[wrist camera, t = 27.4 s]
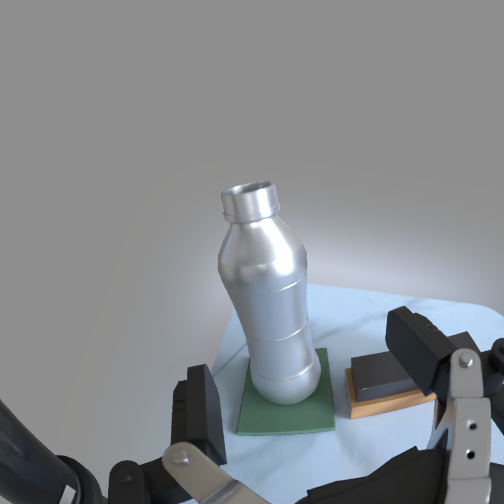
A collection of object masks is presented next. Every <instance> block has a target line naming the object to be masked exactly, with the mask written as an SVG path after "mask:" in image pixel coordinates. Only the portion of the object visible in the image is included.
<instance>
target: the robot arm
mask: <svg viewBox="0 0 504 504" xmlns="http://www.w3.org/2000/svg"><path fill="white" fill-rule="evenodd" d="M385 340H386V344H387V347H388V349H389V350H390V352H391V353H392V354H393V355H394V357H395V358H396V359H397V360H398V362H399V363H400V364H401V366H402V367H403V368H404V369H405V371H406V372H407V373H408V375H409V376H410V377H411V378H412V380H413V381H414V382H415V384H416V385H417V386H418V388H419V389H420V390H421V392H422V393H423V394H424V396H425V397H427V396H429V395H430V394H432V393H435V394H436V398H435V406H434V416H433V425H432V432H431V437H430V440H429V442H428V445H427V449H425V450H420V451H419V450H418V449H417V447H416V446H414V447H412V448H411V449H409V450H407V451H405V452H403V453H401V454H399V455H397V456H395V457H393V458H391V459H390V460H389V461H387V462H386V463H385V464H384V465H382V466H381V467H380V468H378V469H377V470H376V471H374V472H373V473H371V474H370V475H368V476H365V477H360V478H354V479H348V480H341V481H335V482H332V483H329V484H326V485H323V486H320V487H316V488H313V489H310V490H307V494H308V496H306V497H304V498H302V499H300V500H299V501H297V502H296V503H295V504H504V465H501V464H497V463H492V462H490V451H491V418H492V419H493V421H494V422H495V424H496V425H497V427H498V428H499V429H500V431H501V432H502V434H503V435H504V384H503V382H504V338H500V339H497V340H496V341H495V342H494V343H493V346H492V348H491V350H488V351H485V352H481V353H476V352H475V351H473V350H471V349H467V348H462V349H459V348H458V347H457V346H456V345H455V344H453V343H452V342H451V341H450V340H449V339H448V338H447V337H446V336H445V335H444V334H443V333H442V332H441V331H440V330H438V328H437V327H436V326H435V325H433V323H432V322H431V321H429V320H428V319H427V318H426V317H425V316H422V315H420V314H418V313H414V314H413V313H412V312H411V311H410V310H409V309H408V308H407V307H405V306H402V307H399V308H397V309H394V310H392V311H389V312H388V316H387V326H386V336H385ZM172 410H173V412H172V426H171V428H172V429H171V444H170V447H168V448H167V449H166V450H165V452H164V454H163V456H162V457H160V458H158V459H156V460H153V461H151V462H148V463H145V464H142V465H138V464H137V463H135V462H133V461H128V460H126V461H121V462H119V463H117V464H116V465H114V467H113V468H112V469H111V471H110V475H109V489H108V504H179V503H182V502H185V501H188V500H191V499H193V498H194V499H195V500H196V501H197V502H198V503H199V504H271V503H269V502H268V501H266V500H265V499H263V498H262V497H261V496H259V495H258V494H256V493H255V492H253V491H252V490H251V489H249V488H248V487H247V486H245V485H244V484H242V483H241V482H240V481H238V480H235V479H233V478H232V477H231V476H229V475H228V474H227V473H226V472H225V471H223V470H222V469H221V468H220V465H224V464H227V460H226V452H225V443H224V435H223V426H222V416H221V407H220V398H219V393H218V390H217V387H216V385H215V383H214V380H213V378H212V376H211V374H210V371H209V369H208V367H207V365H206V364H203V365H198V366H192V367H188V372H187V380H184V381H179V382H178V384H177V386H176V388H175V390H174V391H173V407H172ZM0 496H2V497H3V498H5V499H6V500H8V501H9V502H11V503H12V504H83V501H84V488H83V484H82V481H81V479H80V477H79V475H78V474H77V472H76V471H75V470H74V469H73V468H71V467H70V466H69V465H68V464H66V463H65V462H63V461H61V460H60V459H59V458H58V457H57V456H56V455H54V454H53V453H52V452H51V451H50V450H49V449H48V448H47V447H46V446H45V445H43V444H42V443H41V442H40V441H39V440H38V439H37V438H36V437H35V436H34V435H33V434H32V433H31V432H30V431H29V430H28V429H27V428H26V427H25V426H24V425H23V424H22V423H21V422H20V421H19V420H18V419H17V418H16V417H15V415H14V414H13V413H12V412H11V411H10V410H9V409H8V408H7V406H6V405H5V404H4V403H3V402H2V400H1V399H0Z"/></svg>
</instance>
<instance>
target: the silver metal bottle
mask: <svg viewBox="0 0 504 504" xmlns="http://www.w3.org/2000/svg"><path fill="white" fill-rule="evenodd" d="M221 199H222V203H223V208H224V213H223V214H224V219H225V220H226V221H228V222H230V228H229V230H228V232H227V234H226V236H225V239H224V241H223V243H222V246H221V249H220V251H219V255H218V272H219V274H220V277H221V280H222V282H223V284H224V286H225V288H226V290H227V292H228V294H229V296H230V299H231V300H232V303H233V305H234V307H235V309H236V311H237V314H238V317H239V320H240V323H241V325H242V327H243V331H244V333H245V336H246V340H247V345H248V350H249V355H250V370H251V377H252V382H253V384H254V386H255V388H256V389H257V391H258V392H259V394H260V395H261V396H262V397H263V398H265V399H266V400H268V401H270V402H273V403H277V404H285V405H287V404H294V403H298V402H300V401H302V400H304V399H306V398H307V397H308V396H310V395H311V394H312V393H313V392H314V391H315V389H316V388H317V386H318V384H319V379H320V373H321V366H320V362H319V359H318V356H317V353H316V351H315V349H314V346H313V341H312V337H311V333H310V329H309V324H308V310H307V254H306V250H305V248H304V246H303V244H302V242H301V240H300V239H299V237H298V236H297V235H296V234H295V233H294V232H293V230H292V229H291V228H290V227H289V226H288V225H287V224H286V223H284V222H283V221H282V220H281V219H280V218H279V217H278V215H277V212H278V211H279V210H280V208H281V207H280V202H279V201H278V199H277V193H276V187H275V185H274V182H271V181H263V182H255V183H249V184H244V185H240V186H236V187H233V188H230V189H227V190H225V191H223V192H222V193H221Z"/></svg>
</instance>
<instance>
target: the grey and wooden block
mask: <svg viewBox="0 0 504 504" xmlns="http://www.w3.org/2000/svg"><path fill="white" fill-rule="evenodd" d="M447 338H448V339H449V340H450V341H451V342H452V343H453V344H455V345H456V346H457V347H458V348H459V349H462V348H467V349H471V350H473V351H475V352H476V353H481V352H480V350H479V349H478V347H477V345H476V344H475V342H474V341H473V339H472V338H471V336H470V335H469V333H468V332H467V331H466V332H463V333H459V334H456V335H452V336H449V337H447ZM345 385H346V392H347V398H348V405H349V412H350V419H354V418H360V417H366V416H371V415H376V414H381V413H386V412H390V411H394V410H399V409H403V408H407V407H411V406H414V405H418V404H422V403H425V402H428V401H432V400H435V398H436V394H435V393H432V394H430V395H429V396H427V397H425V396H424V394H423V393H422V392H421V390H420V389H419V388H418V386H417V385H416V384H415V382H414V381H413V380H412V378H411V377H410V376H409V375H408V373H407V372H406V371H405V369H404V368H403V367H402V366H401V364H400V363H399V362H398V360H397V359H396V358H395V357H394V355H393V354H392V353H391V352H390V351H387V352H382V353H377V354H372V355H366V356H360V357H354V358H351V368H347V369H345Z"/></svg>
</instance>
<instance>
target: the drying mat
mask: <svg viewBox="0 0 504 504" xmlns="http://www.w3.org/2000/svg"><path fill="white" fill-rule="evenodd" d="M315 351H316V353H317V356H318V359H319V362H320V366H321V373H320V379H319V384H318V386H317V388H316V389H315V391H314V392H313V393H312V394H311V395H310V396H308V397H307V398H306V399H304V400H302V401H300V402H298V403H294V404H287V405H285V404H277V403H273V402H270V401H268V400H266V399H265V398H263V397H262V396H261V395H260V394H259V392H258V391H257V389H256V388H255V386H254V384H253V382H252V377H251V370H250V359H249V365H248V371H247V376H246V382H245V388H244V394H243V400H242V405H241V411H240V417H239V422H238V428H237V434H238V435H242V436H259V435H287V434H302V433H313V432H323V431H331V430H335V418H334V408H333V398H332V389H331V380H330V372H329V364H328V356H327V348H320V349H315Z"/></svg>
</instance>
